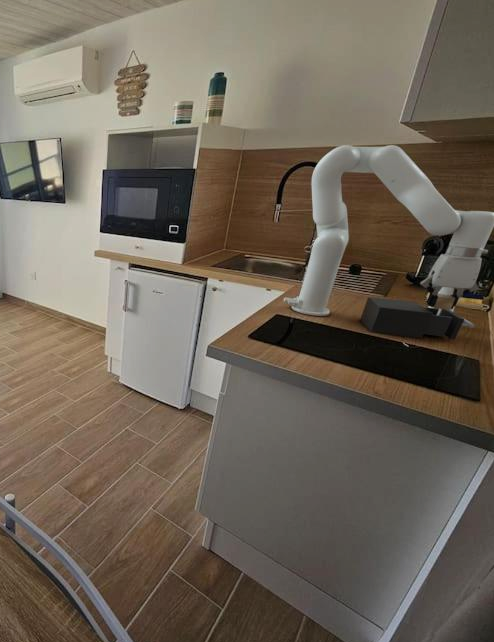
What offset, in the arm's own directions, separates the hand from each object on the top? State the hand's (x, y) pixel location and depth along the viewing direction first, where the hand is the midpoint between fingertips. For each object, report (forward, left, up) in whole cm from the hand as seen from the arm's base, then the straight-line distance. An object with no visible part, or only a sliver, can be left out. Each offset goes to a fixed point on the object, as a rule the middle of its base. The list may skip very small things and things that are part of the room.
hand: (439, 306), depth 123 cm
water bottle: (+8, +15, -10) cm, 20 cm away
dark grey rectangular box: (-10, 0, -10) cm, 14 cm away
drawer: (0, 0, -9) cm, 9 cm away
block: (0, 0, 0) cm, 0 cm away
